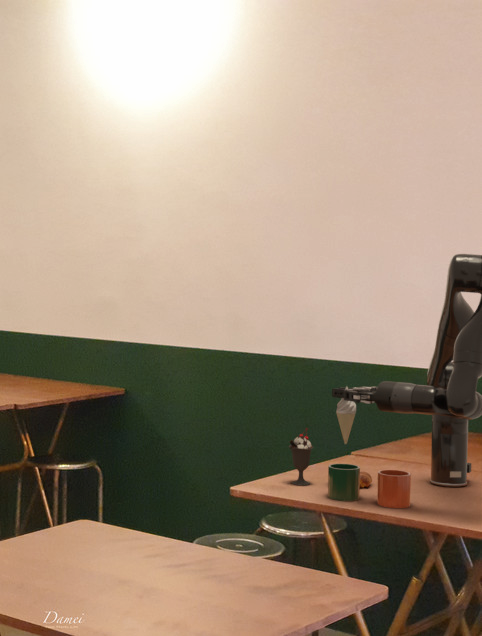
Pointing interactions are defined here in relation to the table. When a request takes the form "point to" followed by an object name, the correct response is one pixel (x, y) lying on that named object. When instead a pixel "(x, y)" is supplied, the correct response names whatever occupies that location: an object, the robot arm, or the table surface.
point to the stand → (343, 482)
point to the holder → (394, 488)
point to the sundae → (301, 456)
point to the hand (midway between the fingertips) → (335, 392)
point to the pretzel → (365, 479)
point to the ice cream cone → (346, 416)
